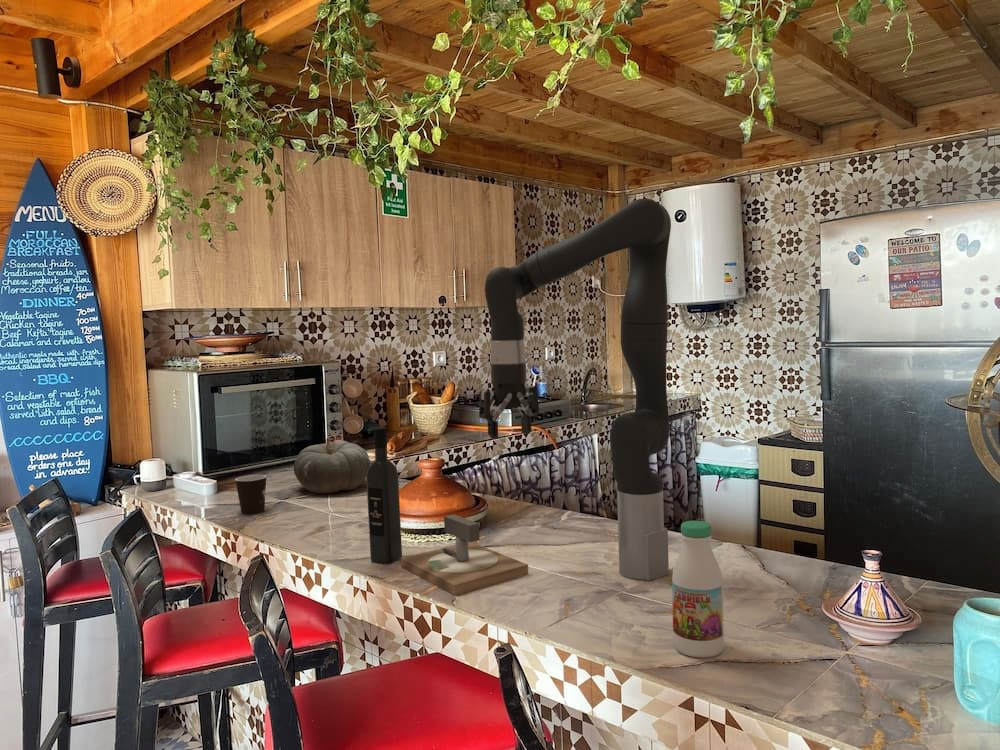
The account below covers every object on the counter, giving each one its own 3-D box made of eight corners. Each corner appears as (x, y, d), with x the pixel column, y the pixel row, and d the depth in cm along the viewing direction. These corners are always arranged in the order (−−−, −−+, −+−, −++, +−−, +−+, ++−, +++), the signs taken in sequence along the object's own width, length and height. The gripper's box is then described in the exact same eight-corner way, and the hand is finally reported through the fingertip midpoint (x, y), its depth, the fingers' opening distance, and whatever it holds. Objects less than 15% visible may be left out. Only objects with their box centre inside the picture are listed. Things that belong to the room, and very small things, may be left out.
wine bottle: (388, 565, 163) (381, 430, 160) (368, 561, 165) (361, 429, 163) (404, 557, 168) (397, 426, 165) (384, 554, 170) (377, 425, 168)
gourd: (351, 469, 261) (348, 422, 256) (388, 491, 242) (385, 441, 237) (284, 488, 245) (279, 439, 241) (317, 513, 227) (313, 461, 222)
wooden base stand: (528, 573, 153) (527, 562, 153) (455, 595, 143) (454, 583, 143) (470, 549, 171) (469, 539, 171) (401, 567, 161) (400, 556, 161)
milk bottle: (674, 635, 121) (672, 516, 120) (723, 639, 119) (721, 518, 117) (671, 656, 114) (668, 529, 112) (724, 661, 111) (721, 531, 110)
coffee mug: (256, 516, 210) (253, 481, 209) (231, 514, 213) (228, 480, 212) (280, 506, 221) (278, 473, 220) (256, 504, 224) (254, 472, 223)
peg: (481, 563, 154) (479, 523, 153) (470, 566, 152) (468, 525, 151) (449, 549, 164) (447, 512, 163) (439, 552, 162) (437, 514, 162)
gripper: (490, 364, 151) (493, 442, 152) (545, 359, 159) (546, 434, 160) (470, 362, 157) (473, 437, 158) (524, 358, 165) (525, 430, 167)
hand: (510, 436), depth 159 cm, fingers open, 8 cm apart
